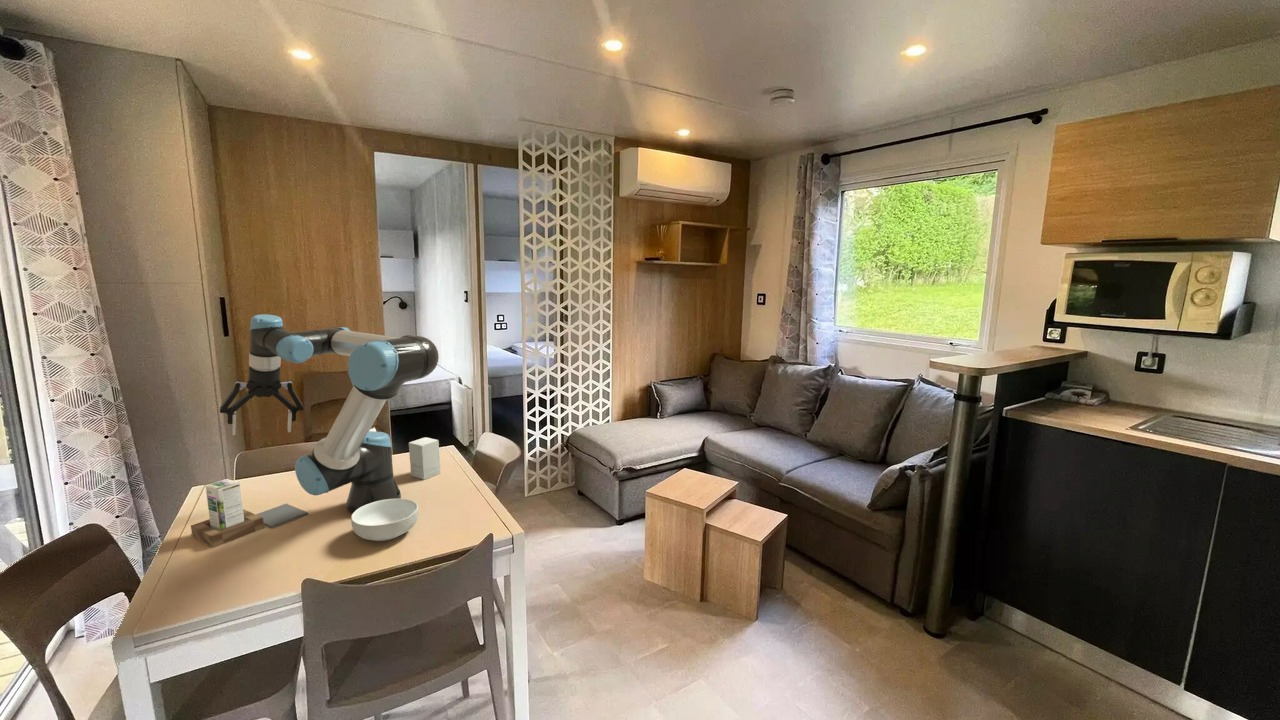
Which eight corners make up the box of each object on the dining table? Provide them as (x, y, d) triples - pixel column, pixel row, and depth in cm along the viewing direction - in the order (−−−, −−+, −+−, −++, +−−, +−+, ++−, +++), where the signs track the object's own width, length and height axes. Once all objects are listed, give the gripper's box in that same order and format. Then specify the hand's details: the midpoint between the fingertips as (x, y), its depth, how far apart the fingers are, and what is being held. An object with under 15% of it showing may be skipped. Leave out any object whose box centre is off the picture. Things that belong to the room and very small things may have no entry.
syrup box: (210, 535, 142) (203, 485, 139) (234, 525, 147) (227, 477, 145) (223, 539, 140) (216, 489, 137) (246, 529, 145) (240, 480, 143)
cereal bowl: (415, 545, 138) (413, 520, 136) (346, 554, 133) (343, 529, 132) (422, 516, 154) (421, 494, 152) (361, 523, 149) (358, 501, 148)
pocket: (264, 528, 146) (262, 517, 145) (213, 547, 135) (212, 536, 135) (242, 518, 151) (241, 508, 151) (192, 536, 141) (190, 525, 141)
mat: (308, 514, 154) (308, 512, 154) (271, 528, 146) (271, 526, 146) (286, 505, 160) (286, 503, 160) (249, 518, 151) (249, 516, 151)
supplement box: (441, 473, 186) (439, 440, 184) (423, 480, 180) (421, 445, 178) (428, 469, 190) (426, 436, 188) (410, 475, 184) (407, 442, 182)
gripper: (313, 363, 162) (309, 424, 167) (210, 361, 147) (209, 428, 152) (315, 371, 156) (311, 434, 162) (209, 371, 141) (208, 440, 147)
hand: (262, 431), depth 157 cm, fingers open, 13 cm apart
